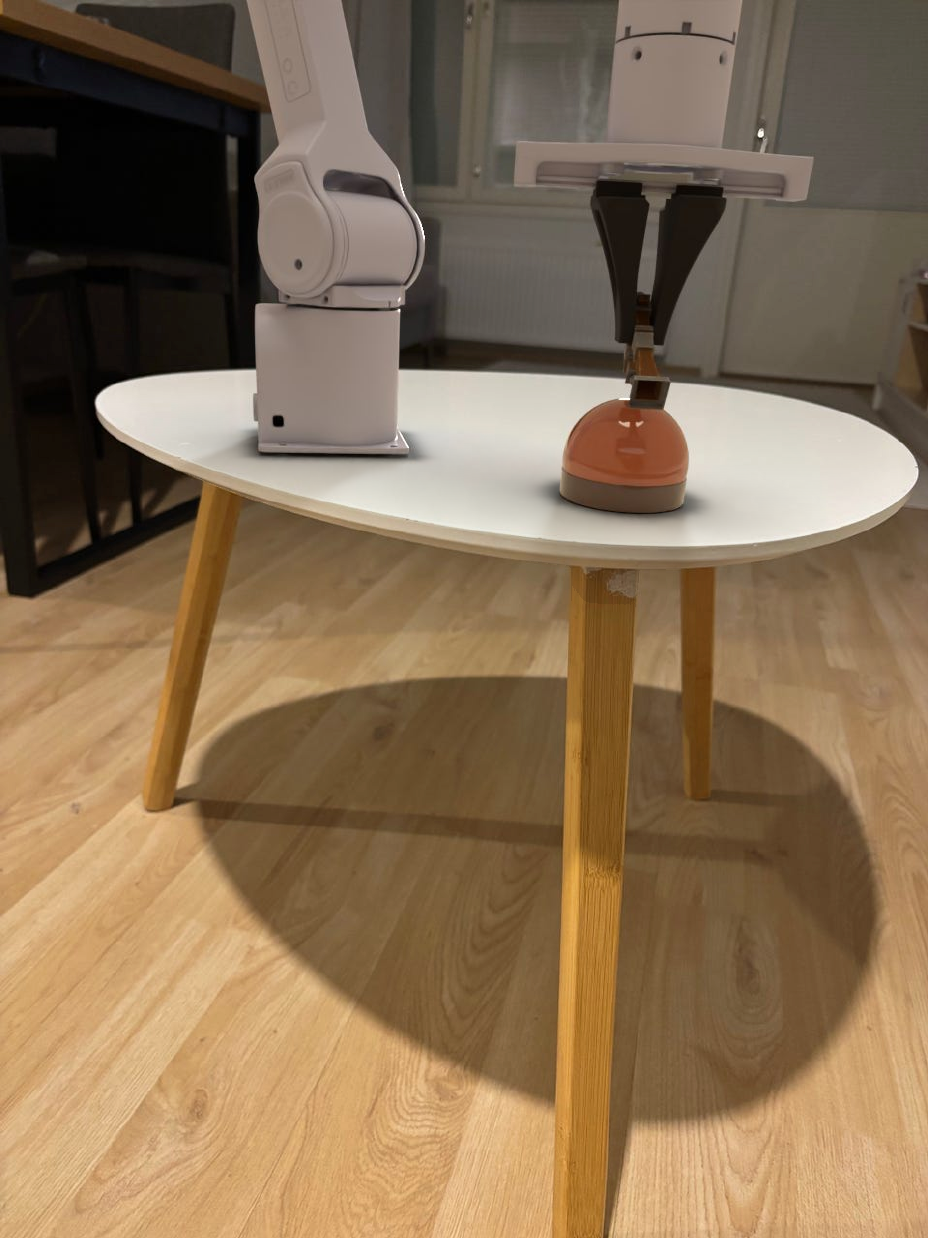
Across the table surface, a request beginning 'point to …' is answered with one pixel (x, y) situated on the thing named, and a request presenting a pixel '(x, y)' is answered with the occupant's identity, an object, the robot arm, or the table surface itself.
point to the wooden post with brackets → (644, 363)
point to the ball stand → (625, 460)
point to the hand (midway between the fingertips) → (639, 342)
